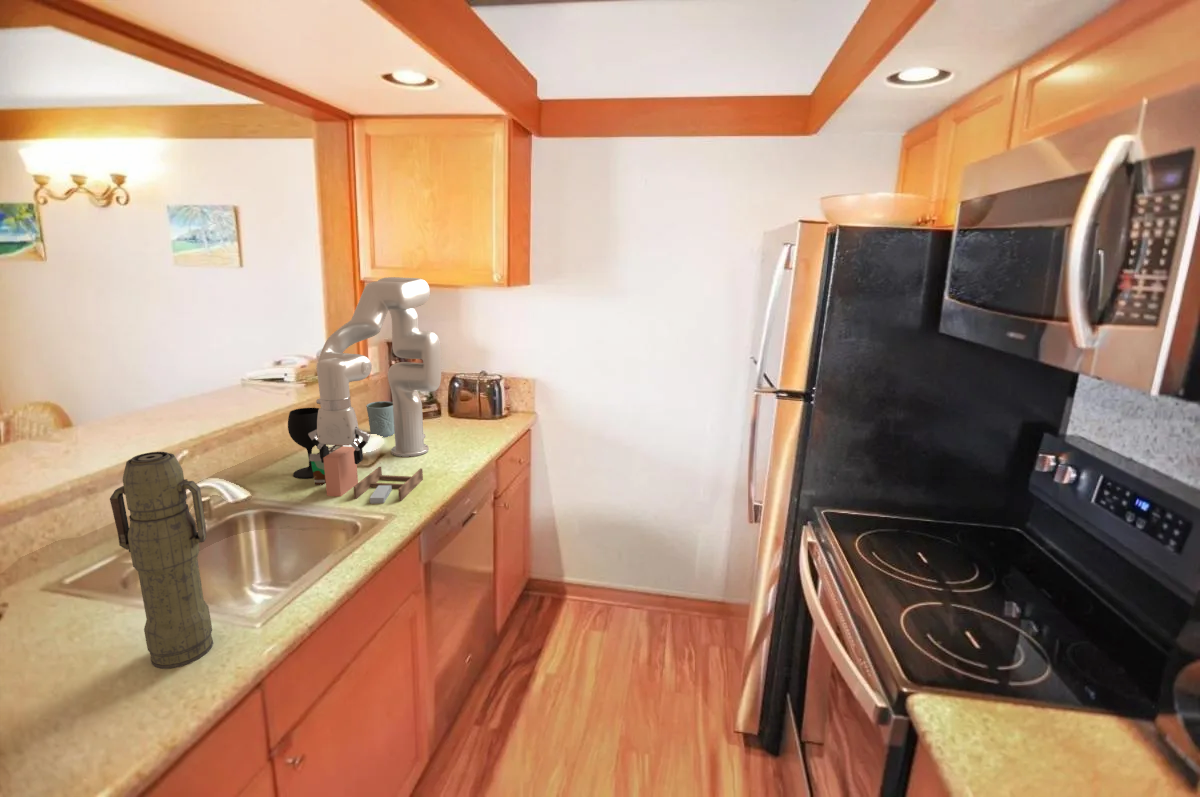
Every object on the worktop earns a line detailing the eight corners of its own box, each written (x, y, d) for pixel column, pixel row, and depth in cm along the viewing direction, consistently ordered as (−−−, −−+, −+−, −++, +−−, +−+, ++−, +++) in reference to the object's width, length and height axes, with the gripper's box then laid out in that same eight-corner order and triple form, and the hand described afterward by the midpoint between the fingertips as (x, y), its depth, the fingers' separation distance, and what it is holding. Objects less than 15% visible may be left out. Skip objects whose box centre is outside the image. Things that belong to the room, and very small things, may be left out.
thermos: (149, 643, 100) (114, 451, 92) (228, 629, 104) (201, 444, 96) (130, 676, 92) (90, 470, 84) (216, 660, 96) (186, 461, 88)
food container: (330, 488, 168) (327, 456, 166) (311, 486, 169) (308, 454, 167) (355, 474, 180) (353, 443, 178) (338, 472, 181) (335, 441, 179)
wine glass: (308, 465, 186) (302, 405, 181) (337, 468, 184) (331, 408, 179) (285, 477, 176) (278, 414, 172) (315, 480, 174) (308, 416, 170)
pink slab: (327, 498, 160) (323, 457, 157) (345, 485, 169) (341, 446, 167) (341, 499, 159) (337, 458, 157) (358, 485, 169) (355, 446, 166)
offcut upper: (391, 491, 164) (391, 485, 164) (383, 503, 155) (383, 497, 155) (378, 491, 164) (378, 485, 163) (370, 504, 155) (369, 497, 155)
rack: (380, 482, 174) (379, 466, 173) (423, 484, 173) (422, 468, 172) (354, 503, 158) (353, 486, 157) (401, 506, 157) (400, 488, 156)
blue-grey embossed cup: (393, 429, 227) (391, 400, 225) (399, 436, 219) (397, 405, 216) (366, 433, 222) (363, 402, 219) (371, 440, 214) (369, 408, 211)
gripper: (297, 406, 155) (305, 465, 160) (359, 408, 154) (365, 468, 159) (313, 399, 163) (319, 455, 167) (372, 401, 162) (377, 458, 166)
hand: (342, 461), depth 163 cm, fingers open, 9 cm apart
